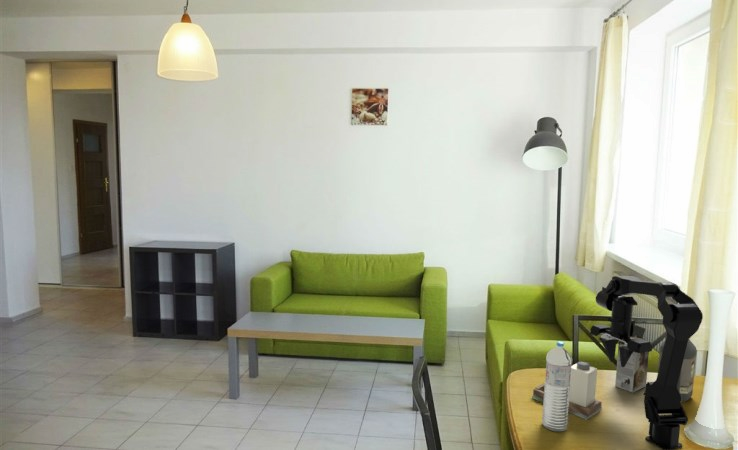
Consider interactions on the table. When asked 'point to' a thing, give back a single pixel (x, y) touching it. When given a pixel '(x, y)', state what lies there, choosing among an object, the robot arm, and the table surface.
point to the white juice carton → (583, 384)
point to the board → (571, 404)
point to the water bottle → (557, 389)
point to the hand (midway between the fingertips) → (617, 364)
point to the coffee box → (632, 371)
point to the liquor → (685, 371)
